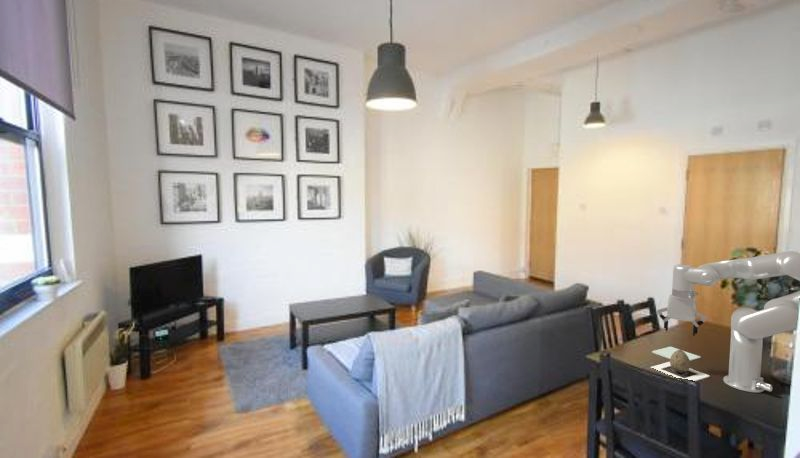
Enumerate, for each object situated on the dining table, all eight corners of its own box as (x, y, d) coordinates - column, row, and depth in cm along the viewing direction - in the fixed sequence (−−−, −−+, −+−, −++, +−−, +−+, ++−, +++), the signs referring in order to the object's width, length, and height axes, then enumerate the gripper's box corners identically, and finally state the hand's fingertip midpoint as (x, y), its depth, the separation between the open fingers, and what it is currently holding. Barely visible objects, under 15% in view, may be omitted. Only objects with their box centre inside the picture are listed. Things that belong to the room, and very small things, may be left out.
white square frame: (709, 376, 166) (709, 375, 166) (689, 383, 160) (689, 382, 160) (670, 362, 180) (671, 361, 180) (650, 368, 175) (650, 366, 175)
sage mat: (700, 358, 184) (700, 356, 184) (681, 363, 179) (682, 362, 179) (670, 347, 197) (670, 346, 197) (651, 352, 192) (651, 351, 192)
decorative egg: (672, 374, 168) (673, 352, 167) (667, 367, 175) (668, 345, 174) (692, 376, 166) (693, 354, 165) (685, 369, 173) (686, 347, 172)
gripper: (708, 295, 165) (705, 334, 167) (659, 289, 176) (656, 326, 177) (708, 299, 159) (705, 339, 161) (657, 292, 170) (655, 330, 171)
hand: (680, 332), depth 169 cm, fingers open, 9 cm apart
